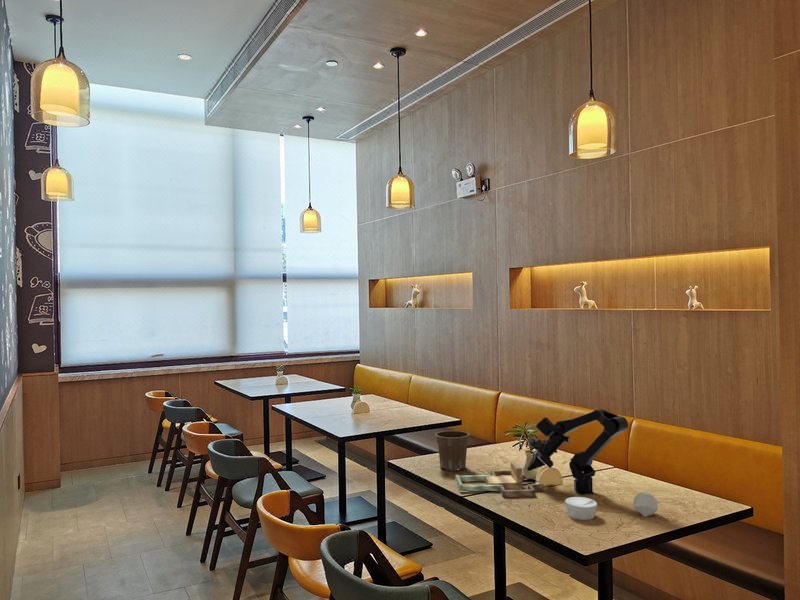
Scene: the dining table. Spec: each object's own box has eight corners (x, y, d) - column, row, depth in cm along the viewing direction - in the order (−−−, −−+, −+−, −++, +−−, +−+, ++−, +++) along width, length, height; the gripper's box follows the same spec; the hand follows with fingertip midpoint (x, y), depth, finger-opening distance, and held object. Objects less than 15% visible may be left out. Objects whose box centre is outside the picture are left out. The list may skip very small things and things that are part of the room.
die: (643, 510, 227) (628, 490, 226) (664, 503, 222) (649, 483, 222) (642, 525, 220) (626, 504, 220) (663, 518, 215) (647, 497, 215)
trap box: (531, 475, 272) (531, 468, 272) (548, 496, 242) (548, 488, 242) (453, 476, 271) (453, 470, 271) (462, 498, 242) (462, 490, 242)
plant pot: (435, 463, 295) (435, 430, 295) (468, 462, 294) (468, 430, 294) (436, 472, 278) (435, 437, 278) (471, 472, 278) (470, 437, 278)
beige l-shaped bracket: (516, 482, 262) (516, 462, 262) (522, 489, 252) (522, 468, 252) (485, 483, 262) (484, 462, 262) (489, 490, 252) (489, 469, 252)
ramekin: (599, 522, 214) (598, 507, 214) (566, 520, 216) (566, 505, 216) (595, 511, 225) (595, 497, 225) (564, 509, 227) (564, 495, 227)
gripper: (534, 426, 266) (509, 451, 266) (545, 435, 248) (519, 462, 248) (552, 443, 267) (527, 469, 266) (564, 454, 248) (538, 481, 248)
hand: (527, 470), depth 257 cm, fingers closed
